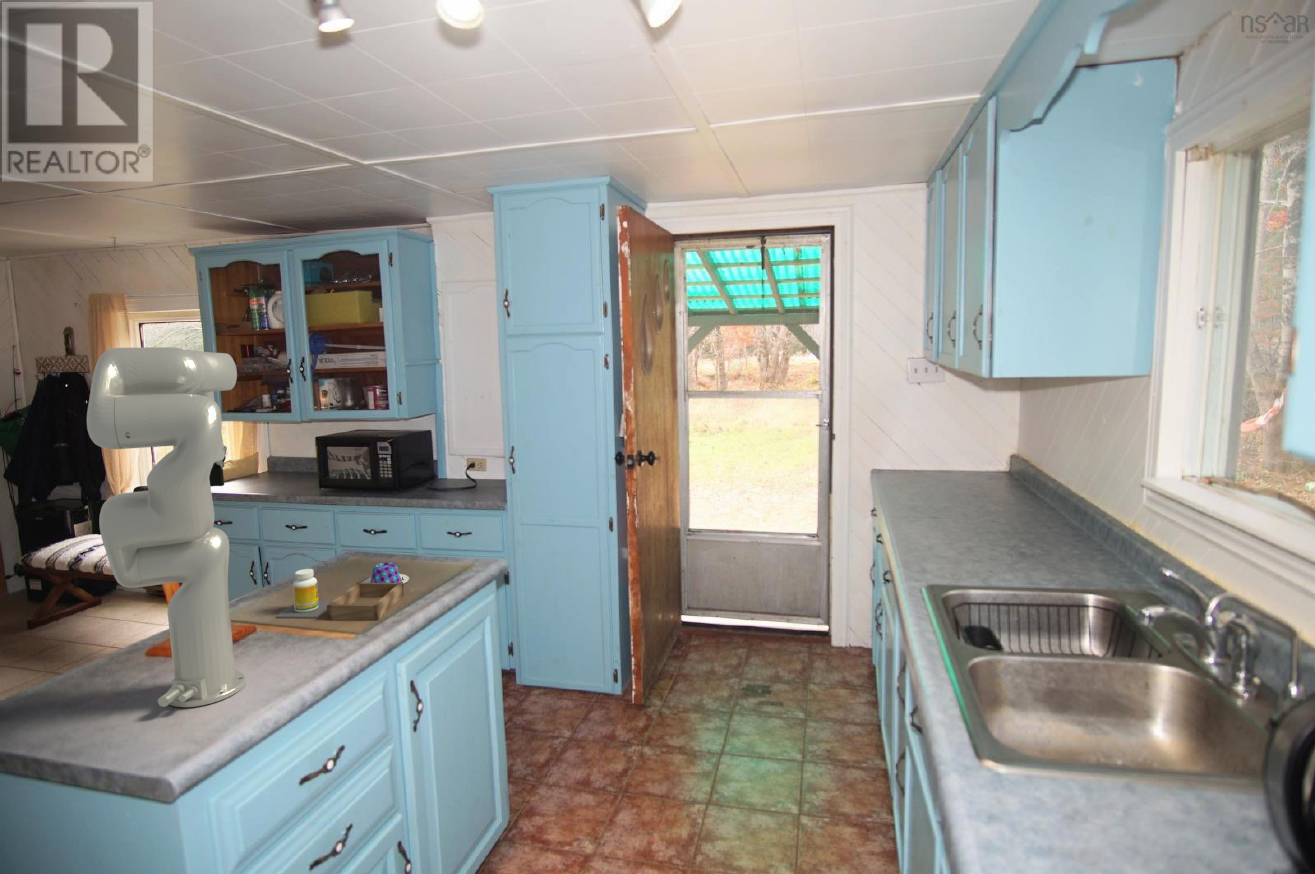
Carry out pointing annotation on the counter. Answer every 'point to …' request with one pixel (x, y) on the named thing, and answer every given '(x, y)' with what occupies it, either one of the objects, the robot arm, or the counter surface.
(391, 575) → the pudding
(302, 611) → the supplement bottle
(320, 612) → the rubber mat
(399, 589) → the walnut box
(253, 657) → the counter surface
